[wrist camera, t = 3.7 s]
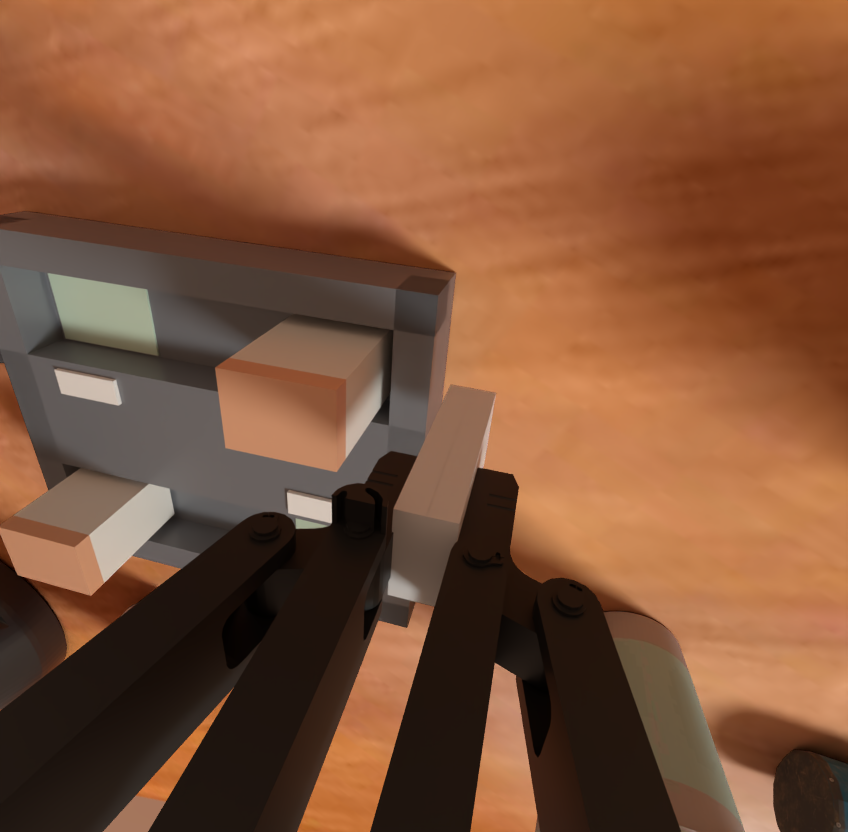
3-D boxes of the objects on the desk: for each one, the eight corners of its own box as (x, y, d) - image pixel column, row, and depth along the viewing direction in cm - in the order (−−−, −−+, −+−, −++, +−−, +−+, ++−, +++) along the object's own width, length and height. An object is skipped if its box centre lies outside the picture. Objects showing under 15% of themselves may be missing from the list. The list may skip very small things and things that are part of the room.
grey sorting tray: (107, 503, 33) (62, 540, 30) (24, 211, 24) (-50, 223, 21) (422, 580, 29) (406, 631, 26) (456, 272, 21) (437, 297, 18)
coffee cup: (507, 644, 30) (474, 912, 20) (613, 563, 26) (641, 855, 15) (627, 722, 31) (654, 1020, 20) (751, 656, 26) (864, 995, 16)
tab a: (111, 498, 30) (17, 575, 25) (99, 454, 29) (-3, 526, 23) (174, 513, 29) (91, 595, 24) (165, 469, 28) (74, 547, 23)
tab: (302, 376, 23) (225, 448, 18) (299, 309, 22) (214, 367, 16) (390, 392, 22) (336, 472, 17) (394, 324, 21) (336, 390, 16)
